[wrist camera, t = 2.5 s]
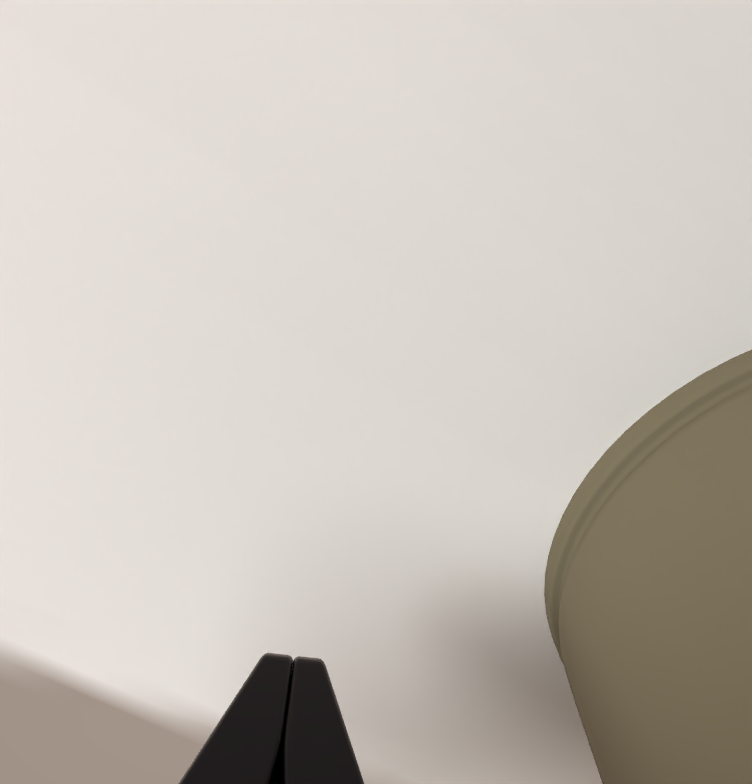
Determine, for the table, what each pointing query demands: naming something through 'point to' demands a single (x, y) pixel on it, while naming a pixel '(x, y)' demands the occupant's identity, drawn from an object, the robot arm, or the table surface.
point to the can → (664, 590)
